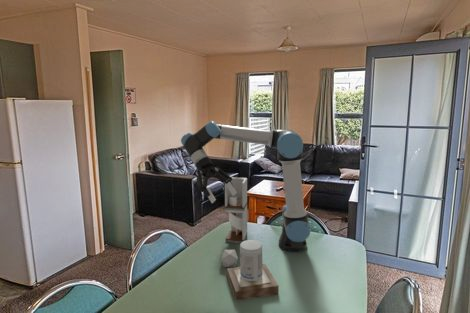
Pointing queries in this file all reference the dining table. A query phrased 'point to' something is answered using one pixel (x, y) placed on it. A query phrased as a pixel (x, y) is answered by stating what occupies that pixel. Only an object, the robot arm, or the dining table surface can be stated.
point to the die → (229, 258)
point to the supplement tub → (251, 260)
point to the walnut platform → (252, 284)
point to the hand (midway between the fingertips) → (224, 198)
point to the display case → (237, 210)
